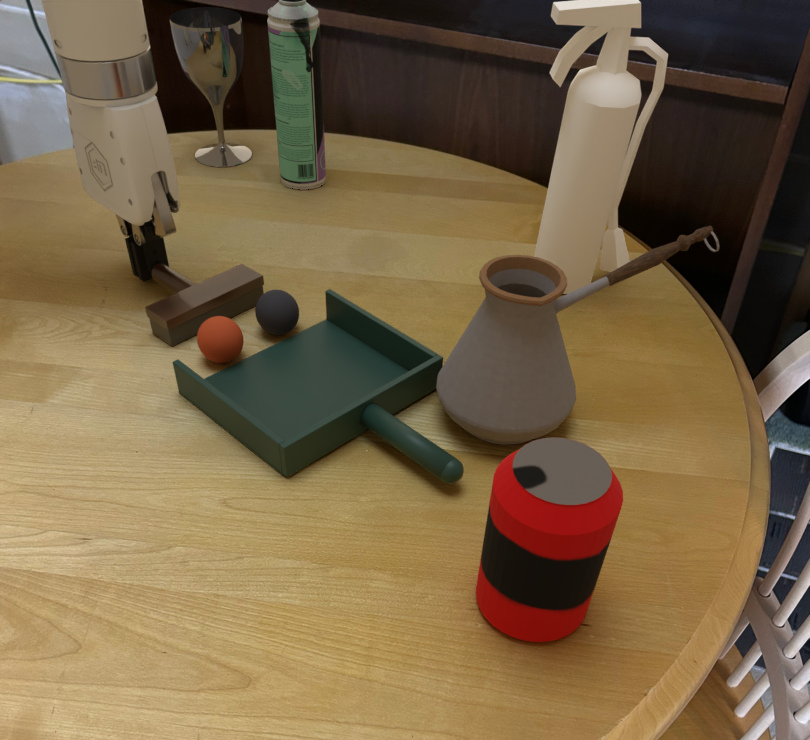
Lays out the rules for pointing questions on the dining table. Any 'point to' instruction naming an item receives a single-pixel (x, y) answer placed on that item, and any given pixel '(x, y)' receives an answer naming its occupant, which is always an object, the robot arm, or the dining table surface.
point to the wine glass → (212, 69)
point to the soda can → (546, 538)
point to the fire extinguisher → (595, 139)
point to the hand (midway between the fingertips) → (152, 273)
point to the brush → (200, 300)
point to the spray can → (297, 93)
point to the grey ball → (277, 312)
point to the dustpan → (325, 392)
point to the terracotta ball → (220, 339)
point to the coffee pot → (525, 346)
